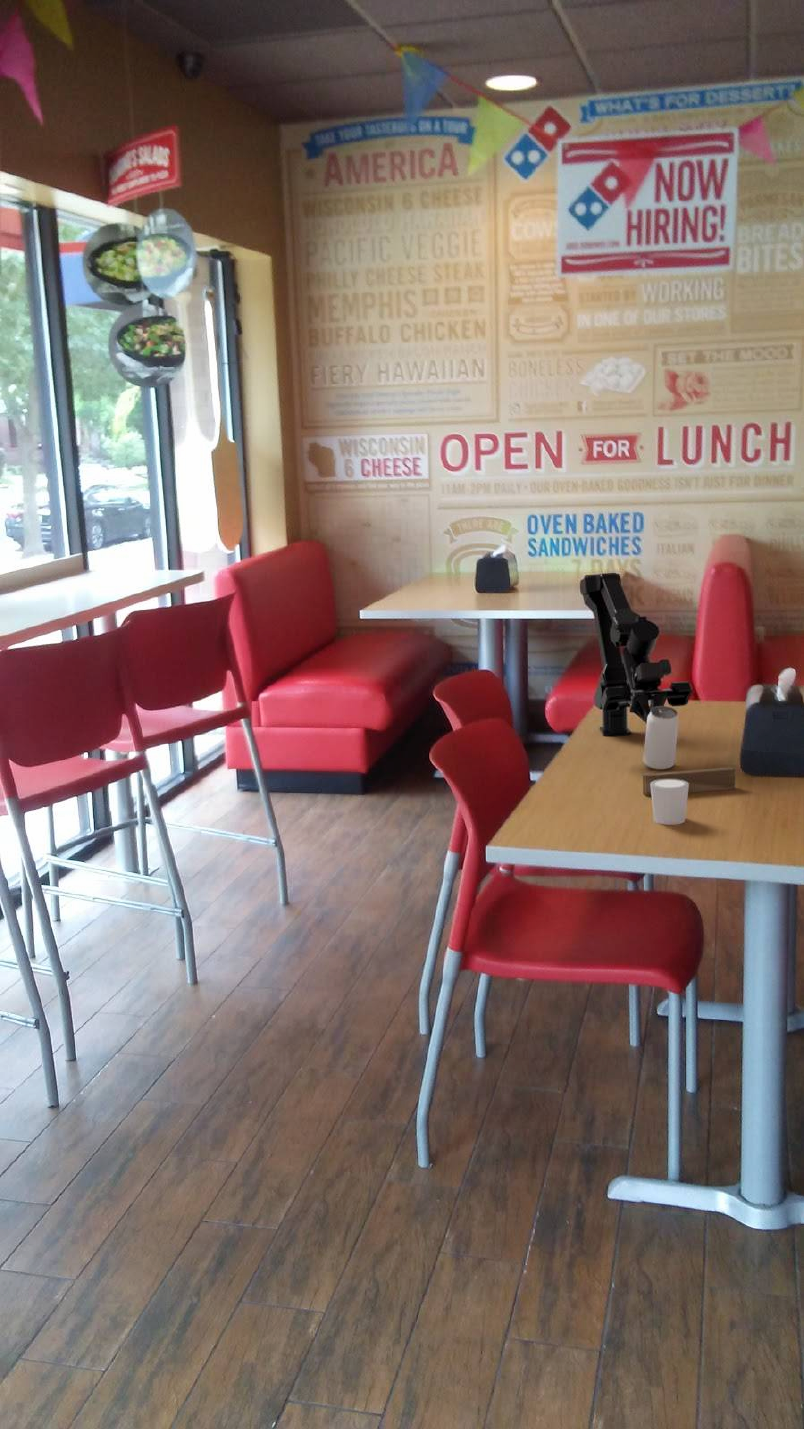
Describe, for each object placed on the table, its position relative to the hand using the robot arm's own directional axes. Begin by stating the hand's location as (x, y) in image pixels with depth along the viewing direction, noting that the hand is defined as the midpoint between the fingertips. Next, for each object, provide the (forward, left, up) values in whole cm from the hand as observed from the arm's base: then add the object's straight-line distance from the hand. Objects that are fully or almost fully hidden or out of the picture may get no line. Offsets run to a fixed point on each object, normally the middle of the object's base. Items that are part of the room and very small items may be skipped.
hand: (655, 729), depth 270 cm
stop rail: (+20, +3, -8) cm, 22 cm away
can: (+1, 0, -7) cm, 7 cm away
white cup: (+37, -5, -8) cm, 38 cm away
